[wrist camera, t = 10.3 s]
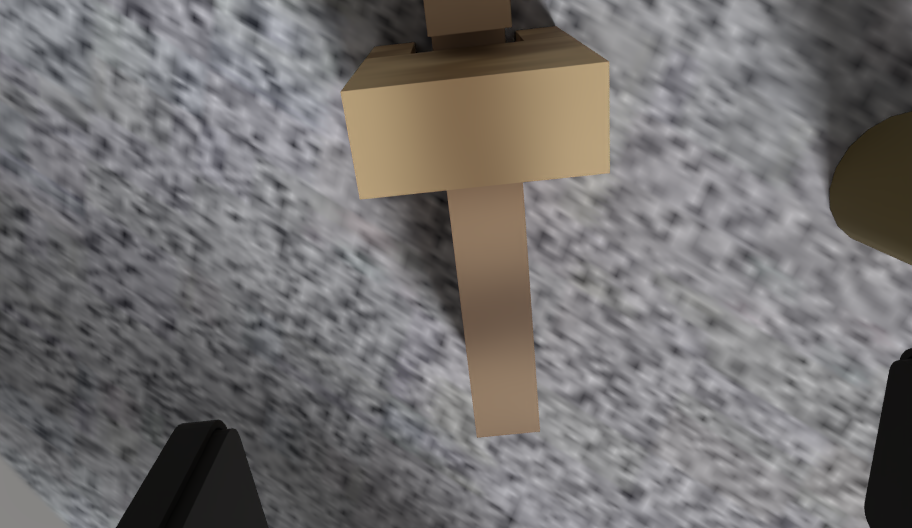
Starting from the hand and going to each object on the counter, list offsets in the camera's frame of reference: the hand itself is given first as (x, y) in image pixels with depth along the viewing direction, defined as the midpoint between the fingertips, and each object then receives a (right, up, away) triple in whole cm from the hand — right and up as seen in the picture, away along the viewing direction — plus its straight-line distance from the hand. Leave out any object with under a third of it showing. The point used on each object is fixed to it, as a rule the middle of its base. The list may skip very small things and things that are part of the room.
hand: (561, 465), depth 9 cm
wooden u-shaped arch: (-1, +10, +16) cm, 19 cm away
